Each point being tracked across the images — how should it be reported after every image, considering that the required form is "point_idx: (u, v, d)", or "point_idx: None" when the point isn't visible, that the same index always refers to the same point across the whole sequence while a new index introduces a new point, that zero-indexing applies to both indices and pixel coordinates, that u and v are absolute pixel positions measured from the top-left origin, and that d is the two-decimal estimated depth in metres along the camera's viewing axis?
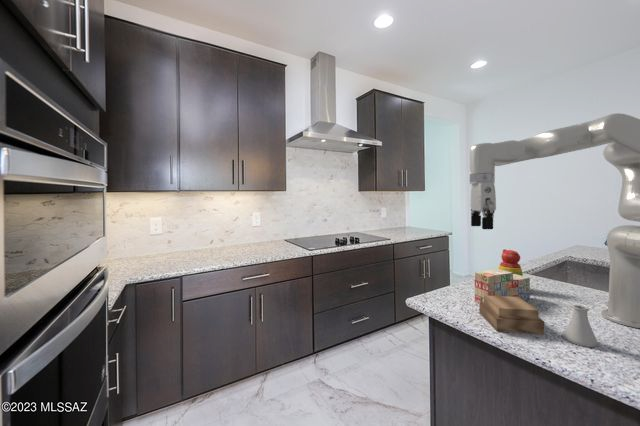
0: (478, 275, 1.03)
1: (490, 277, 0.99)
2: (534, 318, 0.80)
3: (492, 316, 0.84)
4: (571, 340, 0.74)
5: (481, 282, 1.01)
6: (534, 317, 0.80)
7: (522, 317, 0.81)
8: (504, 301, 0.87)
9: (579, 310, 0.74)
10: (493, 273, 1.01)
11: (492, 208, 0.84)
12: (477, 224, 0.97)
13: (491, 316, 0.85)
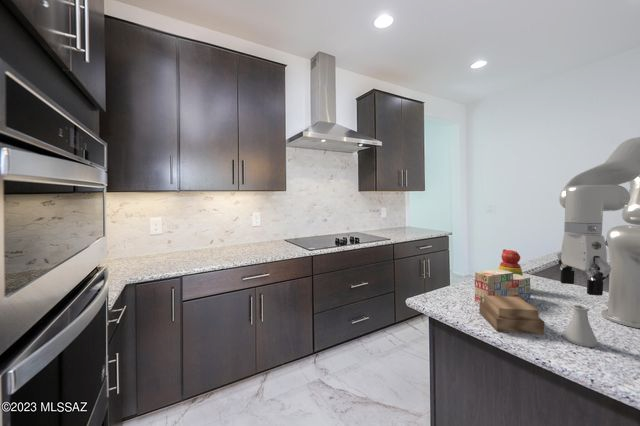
0: (478, 275, 1.03)
1: (490, 277, 0.99)
2: (534, 318, 0.80)
3: (492, 316, 0.84)
4: (571, 340, 0.74)
5: (481, 281, 1.02)
6: (534, 317, 0.80)
7: (522, 317, 0.81)
8: (504, 301, 0.87)
9: (579, 310, 0.74)
10: (493, 273, 1.01)
11: (607, 271, 0.66)
12: (569, 281, 0.78)
13: (491, 316, 0.85)
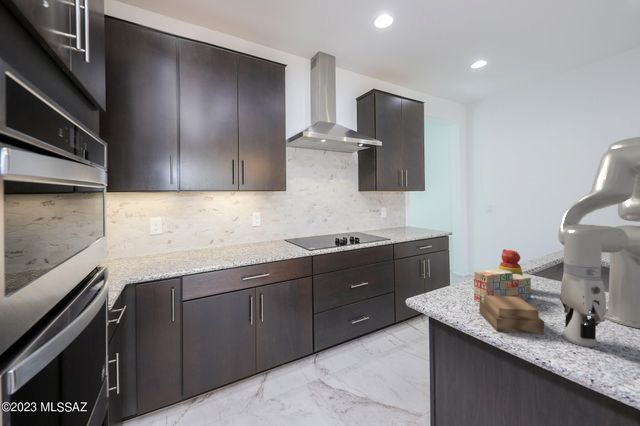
0: (477, 274, 1.04)
1: (489, 276, 1.00)
2: (534, 318, 0.80)
3: (492, 316, 0.84)
4: (571, 340, 0.74)
5: (480, 281, 1.02)
6: (534, 317, 0.80)
7: (522, 317, 0.81)
8: (504, 301, 0.87)
9: None
10: (492, 272, 1.02)
11: (600, 321, 0.68)
12: None
13: (491, 316, 0.85)
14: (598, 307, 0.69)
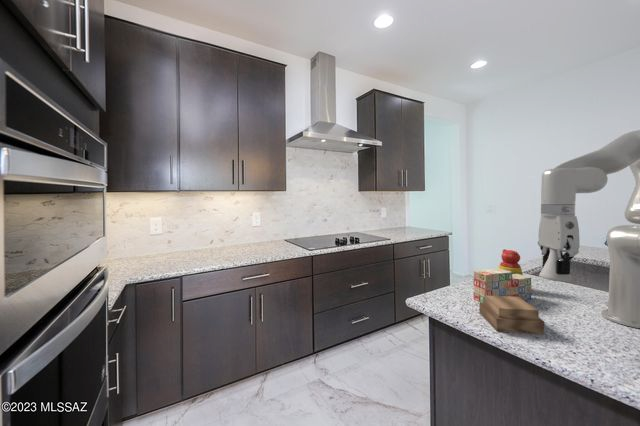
0: (476, 274, 1.05)
1: (487, 276, 1.01)
2: (534, 318, 0.80)
3: (492, 316, 0.84)
4: (547, 277, 0.77)
5: (479, 280, 1.03)
6: (534, 317, 0.80)
7: (522, 317, 0.81)
8: (504, 301, 0.87)
9: None
10: (491, 272, 1.03)
11: (574, 254, 0.71)
12: None
13: (491, 316, 0.85)
14: (572, 241, 0.72)
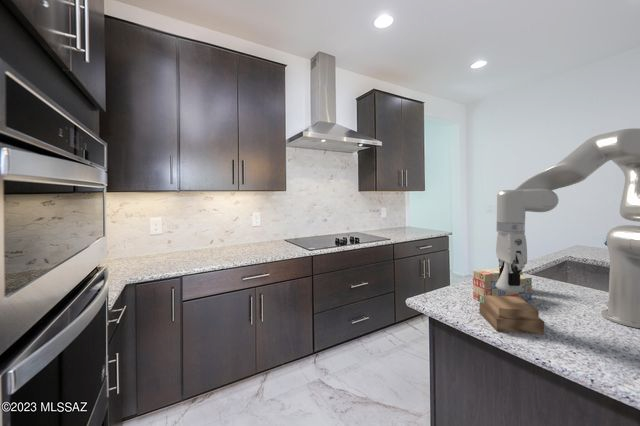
0: (476, 273, 1.05)
1: (487, 275, 1.01)
2: (534, 318, 0.80)
3: (492, 316, 0.84)
4: (501, 288, 0.85)
5: (479, 280, 1.04)
6: (534, 317, 0.80)
7: (522, 317, 0.81)
8: (504, 301, 0.87)
9: None
10: (491, 271, 1.03)
11: (521, 268, 0.79)
12: None
13: (491, 316, 0.85)
14: (520, 256, 0.80)
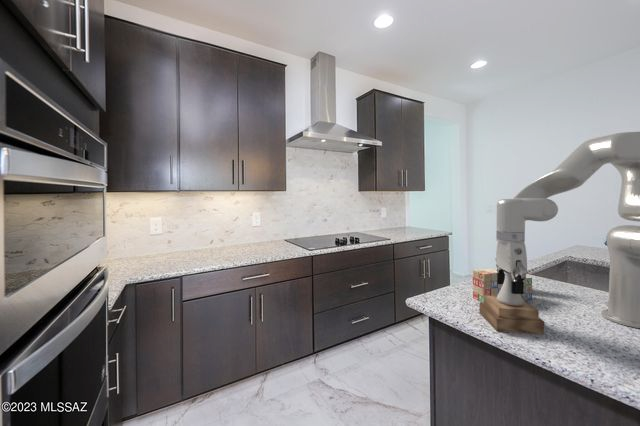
0: (475, 273, 1.06)
1: (486, 275, 1.02)
2: (534, 318, 0.80)
3: (492, 316, 0.84)
4: (502, 301, 0.85)
5: (478, 279, 1.04)
6: (534, 317, 0.80)
7: (522, 317, 0.81)
8: None
9: (508, 274, 0.85)
10: (490, 271, 1.04)
11: (524, 274, 0.78)
12: None
13: (491, 316, 0.85)
14: (521, 263, 0.80)
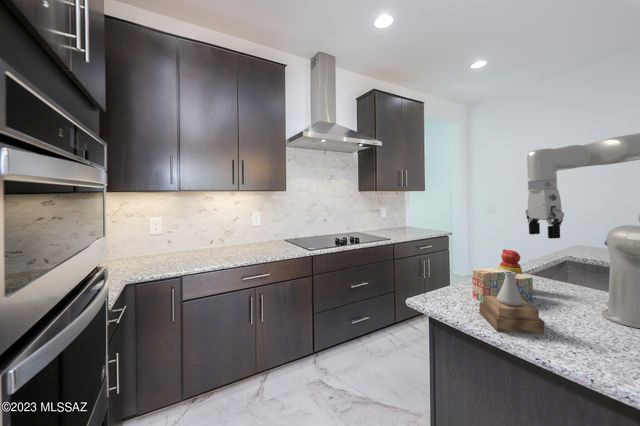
0: (475, 272, 1.07)
1: (485, 274, 1.02)
2: (534, 318, 0.80)
3: (492, 316, 0.84)
4: (502, 301, 0.85)
5: (478, 278, 1.05)
6: (534, 317, 0.80)
7: (522, 317, 0.81)
8: None
9: (508, 274, 0.85)
10: (490, 271, 1.04)
11: (561, 217, 0.81)
12: (536, 232, 0.93)
13: (491, 316, 0.85)
14: (556, 208, 0.83)
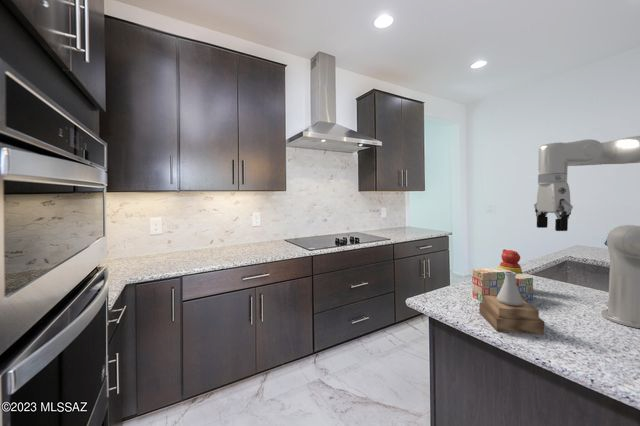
0: (475, 272, 1.07)
1: (484, 274, 1.03)
2: (534, 318, 0.80)
3: (492, 316, 0.84)
4: (502, 301, 0.85)
5: (477, 278, 1.06)
6: (534, 317, 0.80)
7: (522, 317, 0.81)
8: None
9: (508, 274, 0.85)
10: (490, 270, 1.05)
11: (569, 209, 0.82)
12: (543, 225, 0.95)
13: (491, 316, 0.85)
14: (565, 201, 0.84)
